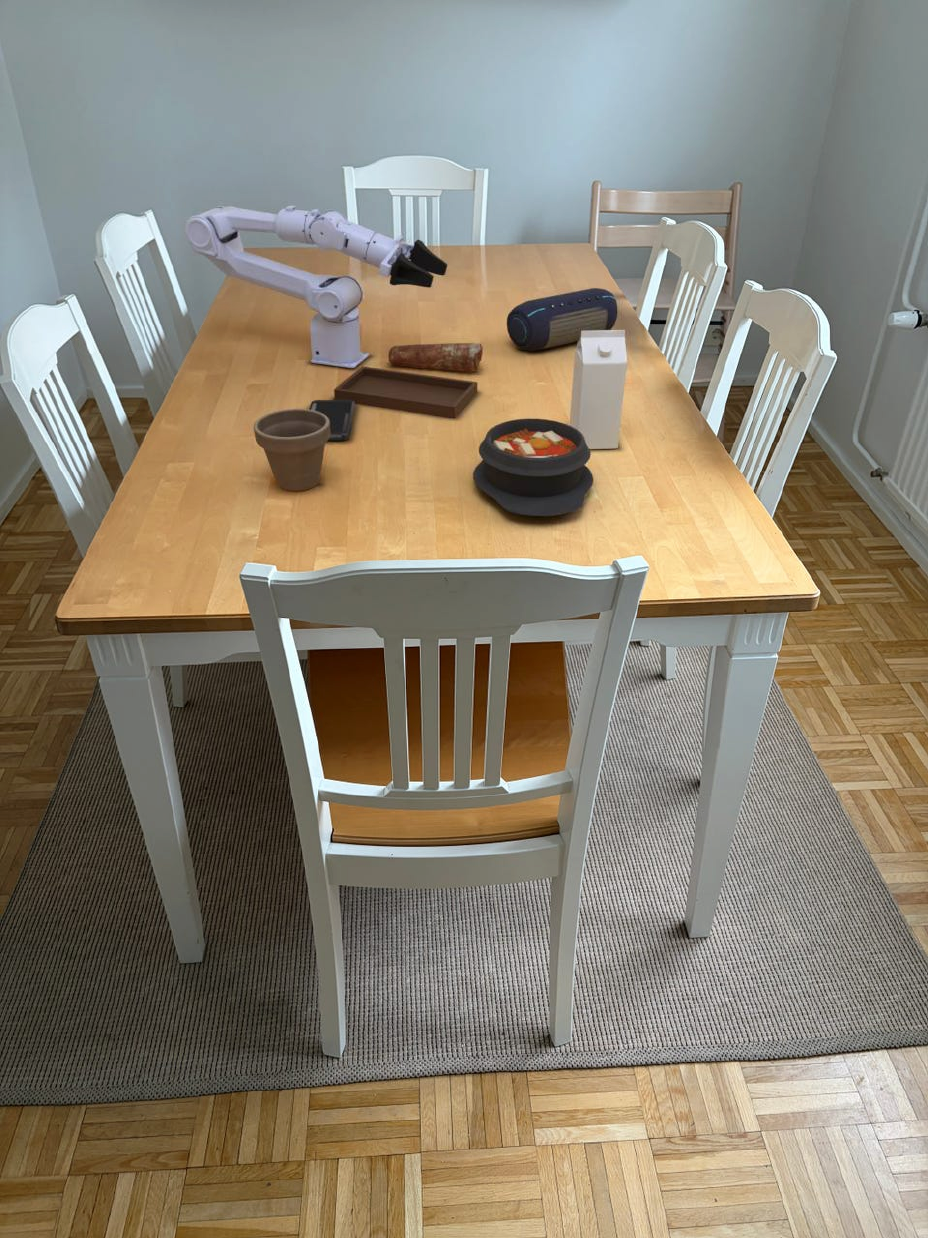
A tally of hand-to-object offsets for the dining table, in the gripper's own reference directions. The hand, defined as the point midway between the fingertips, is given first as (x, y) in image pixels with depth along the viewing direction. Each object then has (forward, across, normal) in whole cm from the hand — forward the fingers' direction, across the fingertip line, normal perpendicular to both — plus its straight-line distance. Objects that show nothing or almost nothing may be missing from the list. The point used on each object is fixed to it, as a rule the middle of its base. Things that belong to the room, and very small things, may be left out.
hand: (439, 275), depth 177 cm
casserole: (+34, -41, +9) cm, 54 cm away
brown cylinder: (+4, +1, +18) cm, 19 cm away
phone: (-5, -30, +20) cm, 36 cm away
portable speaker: (+24, +25, +13) cm, 37 cm away
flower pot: (0, -52, +18) cm, 55 cm away
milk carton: (+39, -22, +8) cm, 45 cm away
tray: (+3, -14, +18) cm, 23 cm away
